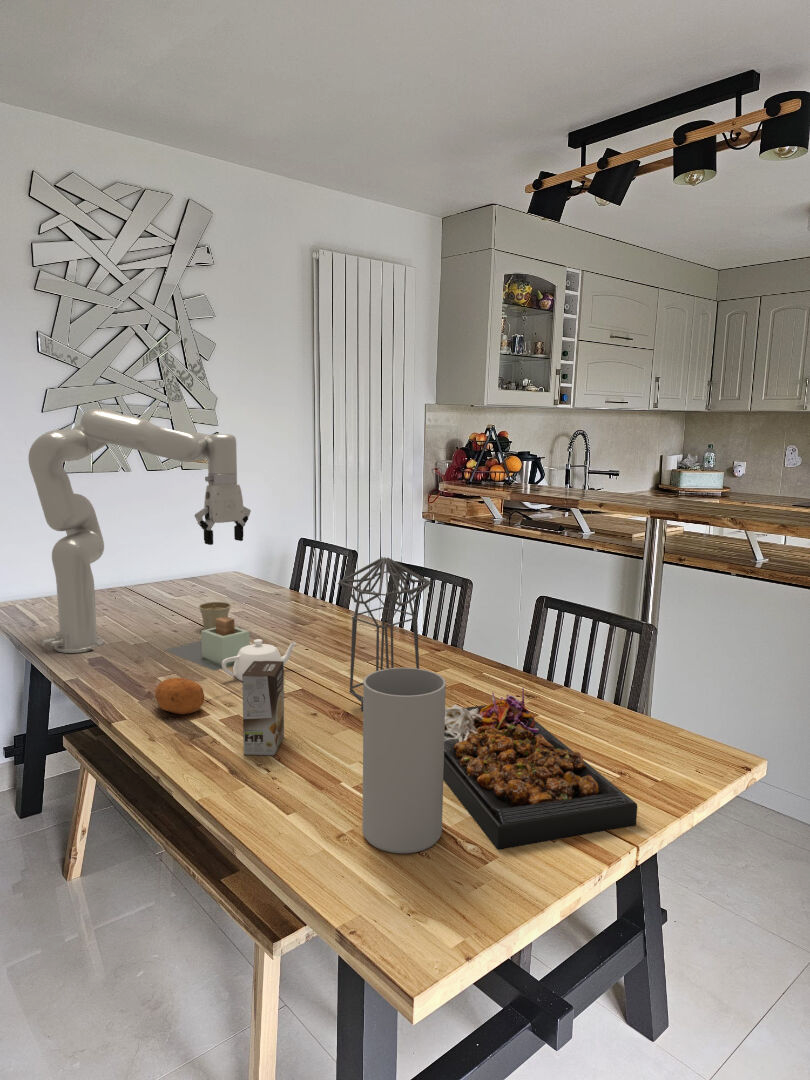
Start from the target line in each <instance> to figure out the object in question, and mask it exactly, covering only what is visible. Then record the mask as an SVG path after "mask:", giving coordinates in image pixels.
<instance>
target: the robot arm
mask: <svg viewBox="0 0 810 1080" xmlns="http://www.w3.org/2000/svg"><path fill="white" fill-rule="evenodd" d="M109 444H110V445H114V446H119V447H123V448H127V449H131V450H135V451H136V450H137V451H139V452H142V453H148V454H150V455H154V456H158V457H161V458H166V459H169V460H174V461H179V462H183V463H190V462H197V461H201V460H202V461H203V460H204V461H205V460H207V468H208V469H207V471H208V472H207V473H208V474H207V476H205V477H204V480H205V482H207V483H208V484H207V485H206V487H205V488H206V489H205V494H204V507H203V508H202V509H201V510H199V511H198V512H196V513H195V514H194V518H195V520H196V522H197V524H198V526H199V527H200V528H201V529H202V530H203V540H204V544H205V545H209V546H212V545H214V531H213V529H212V528H213V527H214V526H215V523H216V524H222V523H223V524H224V523H231V522H234V524H235V525H234V527H233V529H234V530H233V532H234V533H233V534H234V535H233V536H234V538H233V539H234V540H235V541H240V542H243V541H244V527H245V526H246V524H247V522H248V520H249V517H250V515H251V512H252V510H251V509H250V508H247V507H246V506H244V500H243V494H242V488H241V486H240V484H238V472H237V471H238V468H237V467H238V465H237V463H238V461H237V460H238V459H237V439H236V436H235V435H233V434H231V433H229V434H228V433H215V434H214V433H213V434H212V433H211V434H210V433H209V434H208V433H200V432H183V431H178V430H175V429H170V428H166V427H161V426H158V425H155V424H153V423H152V422H151V421H150V420H148V419H146V418H142V417H137V416H132V415H129V414H128V415H127V414H123V413H119V412H118V411H115V410H114V409H110V408H91V409H88V410H87V411H86V412H84V413H83V415H82V416H81V418H80V423H79V424H78V425H77V426H75V427H72V428H71V429H54V430H50V431H47V432H45V433H43V434H42V435H40V436H38V437H37V438H36V439H35V441H33V443H32V444H31V447H30V448H29V451H28V460H27V461H28V466H29V469H30V470H29V471H30V473H31V476H32V478H33V482H34V484H35V487H36V491H37V496H38V499H39V502H40V505H41V508H42V511H43V515H44V519H45V522H46V523H47V525H48V527H49V528H51V529H52V530H53V531H56V532H65V533H66V536H63V537H61V538H60V539H59V540H58V541H57V542H56V543H55V544H54V546H53V548H52V552H51V562H52V567H53V570H54V574H55V581H56V583H55V584H56V595H57V610H58V613H57V614H58V627H59V631H57V632H56V631H55V635H53V636H52V637H47V638H43V639H41V645H42V647H47V646H51V647H54V650H55V651H56V652H60V653H64V654H78V653H86V652H90V651H93V648H96V647H100V646H103V645H104V639H102V638H101V637H99V636H98V630H97V626H98V625H97V624H98V623H97V609H96V591H95V588H96V587H95V579H94V574H93V572H92V571H93V570H92V567H91V564H93V563H95V562H97V561H98V560H99V559H101V557H102V555H103V554H104V550H105V543H104V542H105V541H104V537H103V534H102V531H101V527H100V524H99V521H98V516H97V514H96V511H95V508H94V506H93V504H92V503H91V501H90V500H89V499H88V498H87V497H86V496H85V495H83V494H81V493H80V494H79V493H74V491H73V488H72V483H71V480H70V478H69V475H68V473H67V471H66V470H65V468H64V465H63V464H64V463H65V462H73V461H79V460H82V459H84V458H87V457H88V456H90V455H91V454H94V453H95V452H97V451H98V450H100V449H102V448H104V447H105V446H107V445H109ZM203 517H204V519H205V520H204V519H203Z"/></svg>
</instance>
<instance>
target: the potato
mask: <svg viewBox="0 0 810 1080" xmlns="http://www.w3.org/2000/svg"><path fill="white" fill-rule="evenodd" d="M154 696H155V697H154V698H155V700H156V702H157V704H158V706H159V707H160V709H161V710H163V711H167V712H169V713H173V714H178V715H186V714H192V713H194V712H197V711H199V710H200V709H201V707H202V706H203V704H204V703H205V693H204V690H203V688H202V686H201V685H200V684H199V683H197V682H196V681H194V680H191V679H187V678H184V677H173V678H172V677H171V678H167V679H164V680H162V681H161V682H160V683H159V684H157V686H156V687H155V689H154Z"/></svg>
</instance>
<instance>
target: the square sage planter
mask: <svg viewBox="0 0 810 1080" xmlns="http://www.w3.org/2000/svg"><path fill="white" fill-rule="evenodd" d="M234 627H235V633H234V634H230V635H226V636H222V635H219V634H216V627H215V628H211V629H206V630H204V629H202V630H200V632H201V637H200V638H201V640H200V641H201V642H202V659H203V660H205V661H208V662H210V663H213V664H215V665H218V666H220V667H222V661H223V660H224V659H226V658H230V657H234V656H237V654H238V652H239V650H240V649H241V648H242V647H244V646H247V645H251V643H250V641H251V639H250V631H249V630H247V629H244V628H243V629H242V628H240V627H237V626H234ZM234 663H235V661H230V662H227V663H226V667H227V666H229V667H231V666H230V665H232V666H234ZM227 668H228V667H227Z"/></svg>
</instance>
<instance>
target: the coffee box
mask: <svg viewBox="0 0 810 1080" xmlns="http://www.w3.org/2000/svg"><path fill="white" fill-rule="evenodd" d="M284 670H285V665H284V662H283V661H253V663H252V664H251V665H250V666H249V667H248V669H247V670H246V671H245V672H244V673H243V675H242V678H243V681H242V726H243V727H242V729H243V730H242V731H243V733H242V734H243V735H242V736H243V738H242V739H243V755H248V756H249V755H250V756H252V755H253V756H275V755H276V753H277V751H278V749H279V748H280V745H281V743H282V741H283V739H284V737H285V707H284V706H285V698H284V697H285V695H284V694H285V691H284V690H285V685H284V684H285V681H284V680H285V679H284V676H285V675H284V672H285V671H284Z"/></svg>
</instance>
